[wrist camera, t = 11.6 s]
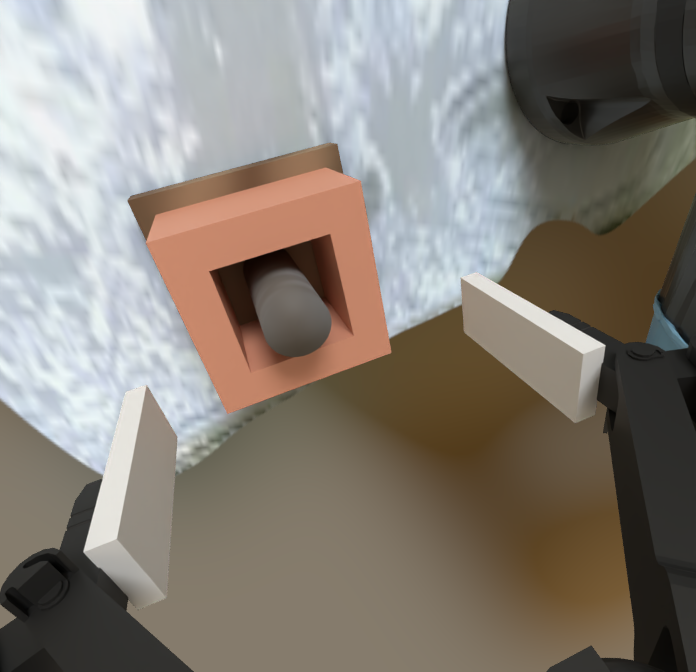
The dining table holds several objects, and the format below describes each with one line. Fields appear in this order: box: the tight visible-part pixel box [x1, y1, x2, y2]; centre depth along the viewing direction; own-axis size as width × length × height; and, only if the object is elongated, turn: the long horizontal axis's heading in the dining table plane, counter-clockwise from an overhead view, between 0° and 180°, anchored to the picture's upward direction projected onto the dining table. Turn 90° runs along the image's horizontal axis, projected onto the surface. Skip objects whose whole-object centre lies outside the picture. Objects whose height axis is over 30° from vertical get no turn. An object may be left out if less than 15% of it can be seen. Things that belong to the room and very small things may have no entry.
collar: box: [146, 168, 391, 414], centre depth 24 cm, size 10×10×6 cm
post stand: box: [128, 143, 343, 357], centre depth 23 cm, size 12×12×10 cm
